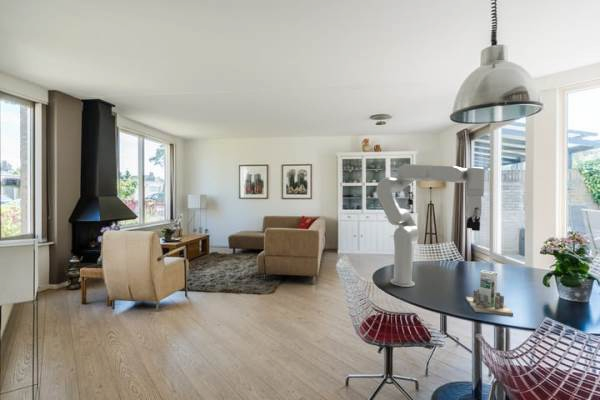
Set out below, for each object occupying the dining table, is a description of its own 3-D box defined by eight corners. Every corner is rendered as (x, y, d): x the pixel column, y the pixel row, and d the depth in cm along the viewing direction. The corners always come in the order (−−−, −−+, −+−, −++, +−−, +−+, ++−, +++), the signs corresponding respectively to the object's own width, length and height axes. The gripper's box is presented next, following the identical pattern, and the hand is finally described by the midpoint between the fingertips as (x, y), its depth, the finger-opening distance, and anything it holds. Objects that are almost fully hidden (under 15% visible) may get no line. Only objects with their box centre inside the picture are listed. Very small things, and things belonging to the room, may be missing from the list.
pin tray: (465, 299, 144) (466, 286, 144) (499, 302, 140) (500, 289, 140) (475, 311, 129) (475, 297, 129) (513, 316, 125) (513, 301, 125)
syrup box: (478, 303, 135) (479, 271, 134) (481, 300, 139) (483, 269, 139) (493, 307, 131) (494, 274, 130) (496, 304, 135) (497, 271, 135)
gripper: (461, 193, 153) (460, 227, 153) (470, 193, 136) (468, 231, 137) (478, 193, 151) (476, 227, 151) (489, 193, 134) (487, 232, 134)
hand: (472, 229), depth 144 cm, fingers open, 9 cm apart
